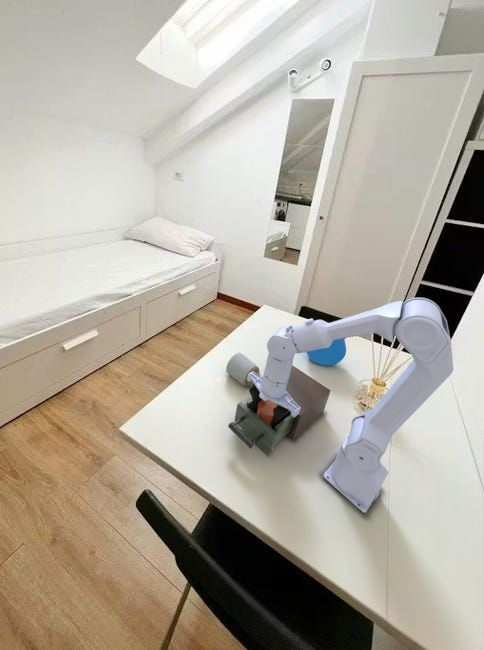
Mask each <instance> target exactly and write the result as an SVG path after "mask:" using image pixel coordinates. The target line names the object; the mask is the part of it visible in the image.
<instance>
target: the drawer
mask: <svg viewBox="0 0 484 650" xmlns="http://www.w3.org/2000/svg"><path fill="white" fill-rule="evenodd" d="M277 405H278V404H277ZM233 420H234V421H231V422H230V423H229V424H228V429H229V430H230V431H232V432H233V434H234V435H236V437H237V438H238V439H239V440H240V441H241V442H242V443H244V445H245V446H246V447H247V448H249V450H251V449H253V448H254V446H255V444H256V445H257V446H258V447H260V448H261V450H262V451H264V452H265V453H266V454H267V455H268V456H270V455H271V454H272V453H273V451H274V447H275V446H276V445H277V444H278V443H279V442H280V441H281V440H283V439H284V438H285V437H286V436H288V435H287V434H288V433H289V432H290V431H292V430H293V426H294V423H295V420H296V417H293V416H292V415H291V412H290V411H289V412H288V413H287V414H286V415H285V416H284V417H283V419H282V420H281V422H280V423H279V424H278V425H277V426H276V427H275V428H274V429H271V428H270V427H269V426H268V425H267V424H266V423H265V422H263V421H262V420H261V419H260V418H259V417H258V416H257V415H256V413H255V412H254V405H253V400H252V398H250V399H248V400H247V401H246V403H245V404H244V403H243V402H242V401H239V402H237V403H236V410H235V415H234V419H233Z"/></svg>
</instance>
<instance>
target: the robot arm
mask: <svg viewBox="0 0 484 650" xmlns="http://www.w3.org/2000/svg"><path fill="white" fill-rule="evenodd" d="M373 334H376V335H378V336H380V337H381V338H382V339H385V340H387V341H388V342H390V343H394V342H395V341H394V340H395V337H396V339H397V341H398V342H399V344H401V346H402V347H403V348H404V349H405V350H406V351H407V352H408V353H409V354H410V355H411V357H412V359H413V360H412V361H411V362H410V364H408V366H407V367H406V368H405V369H404V371H403V372H402V373H401V374H400V375H399V376H398V378H397V379H396V380H395V381H394V382H393V384H392V385H391V386H390V387H389V388H388V390H387V391H386V392H385V393H383V396H381V398H380V399H379V400H378V401H377V402H376V404H375V405H374V406H373V407H372V408H371V409H370V408H369V409H366V411H364V413H361V414H358V415H356V416H354V417H353V419H352V420H351V426H350V430H349V435H348V436H346V437H345V438H344V439H343V440H342V442H341V445H340V447H339V450H338V452H337V454H336V457H335V460H334V461H333V463H332V464H331V465H330V466H329V467H328V468H327V470H326V471H325V472H324V473H323V475H322V477H323V478H324V479H325V481H327V482H328V483H329V484H331V486H333V487H334V488H335V489H336V490H337V491H338V492H340V493H341V494H342V495H343V496H344V497H345V498H346V499H347V500H348V501H349V502H351V504H353V505H354V506H355V507H356V508H357V509H359V511H361V512H362V513H364V514H366V513H367V511H368V510H369V509H370V507H371V505H372V504H373V502H374V501H376V500H377V499H378V497H379V496H380V493H381V492H380V491H381V488H382V486H383V485H384V483H385V481H386V479H387V477H388V475H389V473H390V471H389V470H388V469H387V468H386V467H385V466H384V465H383V464H382V462H381V458H382V456H383V455H384V454H385V453H386V451H387V449H388V446H389V443H390V442H391V439H392V437H393V435H395V433H396V432H397V431H398V430H399V429H400V428H401V427H402V426H403V425H404V424H405V423H406V422H407V421H408V420H409V419H410V418H411V417H412V416H413V415H414V414H415V412H417V410H418V409H420V407H421V406H422V405H423V404H424V403H425V402H426V401H427V400H428V399H430V397H431V396H432V395H433V394H434V393H435V392H436V391H437V389H439V387H440V386H441V385H443V383H444V382H445V381H446V380H447V379H448V378H449V377H450V376H451V375H452V373H453V372H454V360H453V359H454V358H453V349H452V340H451V336H450V329H449V325H448V320H447V318H446V317H445V315H444V313H443V311H442V310H441V307H440V306H439V305H438V304H437V303H436V302H434V301H433V300H431V299H429V298H426V297H412V298H409V299H407V300H405V301H404V302H403V300H399V301H393V302H390V303H387V304H384V305H381V306H379V307H375V308H373V309H369V310H367V311H364V312H363V311H362V312H360V313H357V314H355V315H351V316H346V317H345V318H342V319H338V320H334V321H331V322H327V321H325V320H323V319H316V320H314V318H309V319H307V320H306V321H305V323H301V324H298V325H294V326H292V325H287V326H282V327H280V328H278V329H277V330H276V332H274V333H273V334H272V336H271V337H270V338H269V339H268V340H267V343H266V349H267V351H268V354H267V357H266V362H265V366H264V371H263V375H261V374H259V375H258V374H256V373H255V372H251V373H249V374H248V377H247V380H248V381H249V382H251V381H252V382H253V384H251V386H250V387H249V389H248V392H249V394H250V397H251V399H252V400H253V405H254V412H255V413H256V412H257V407H258V403H259V402H260V401H261V400H264V401H267V400H269V401H272V402H274V403H276V404H278V406H277V407H275V408H274V409H273V414H274V416H273V422H272V428H275V427H276V426H277V425H278V424H279V423H280V422H281V420H282V419H283V417H284V416H285V415H286V414H287V413H288V412H289V411H290V412H291V415H292V416H293V417H296V416H297V415H298V414H299V412H300V409H301V407H300V406H298V405H297V404H296V403H295V401H294V400H293V399H292V398H291V396H290V395H289V394H288V393H287V391H286V387H287V384H288V380H289V376H290V372H291V368H292V365H293V366H294V359H295V355H296V354H303V353H306V352H308V351H313V350H318V349H323V348H328V347H330V345H331V344H332V341H333V340H336V339H342V338H346V339H348V338H354V337H360V336H365V335H366V336H367V335H373Z"/></svg>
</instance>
